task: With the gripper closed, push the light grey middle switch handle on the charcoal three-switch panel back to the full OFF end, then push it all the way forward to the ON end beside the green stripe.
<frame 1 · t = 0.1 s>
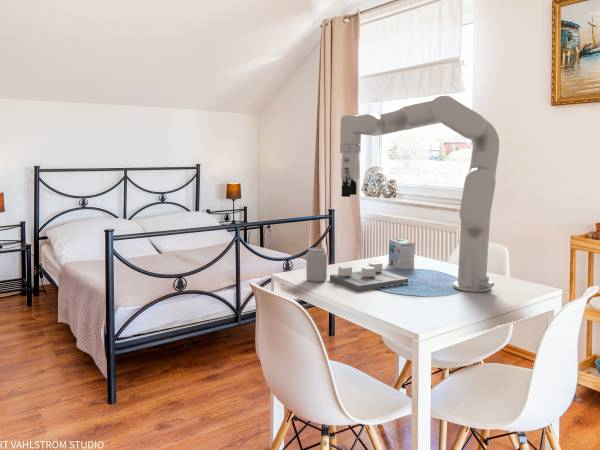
hand: (349, 195, 195), 31 cm above the table, tool pointing down, fingers open, 9 cm apart
can: (316, 281, 193), on the table
light bulb box: (401, 266, 218), on the table
breaker panel: (368, 281, 191), on the table
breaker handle: (368, 271, 191), point 4 cm above the table, slide at 5.0 cm
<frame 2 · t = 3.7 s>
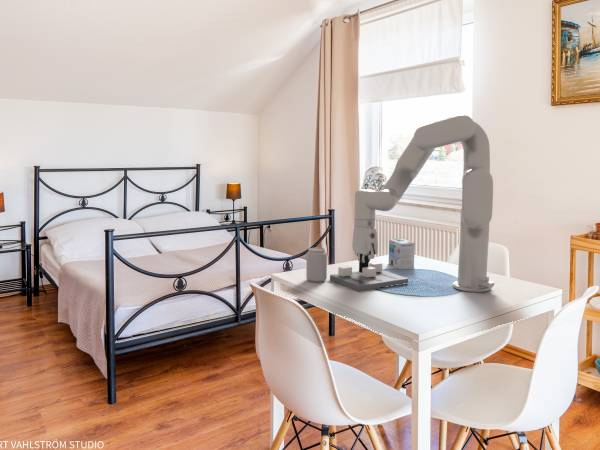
hand: (363, 272, 194), 3 cm above the table, tool pointing down, fingers closed
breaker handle: (369, 272, 191), point 4 cm above the table, slide at 4.7 cm, touching gripper
everything else where it was.
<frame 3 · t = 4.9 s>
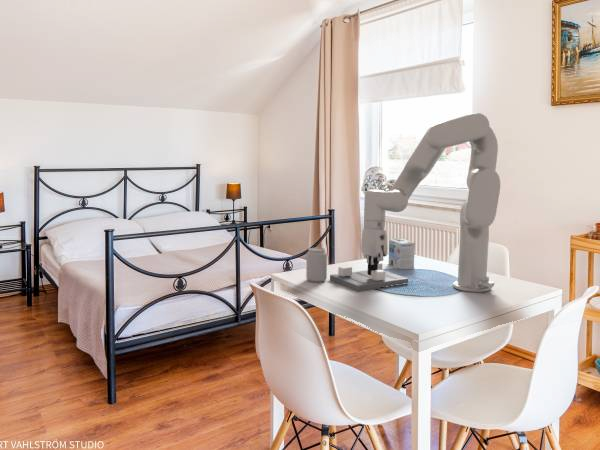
hand: (372, 274, 189), 3 cm above the table, tool pointing down, fingers closed
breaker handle: (378, 275, 186), point 4 cm above the table, slide at -0.7 cm, touching gripper
everything else where it was.
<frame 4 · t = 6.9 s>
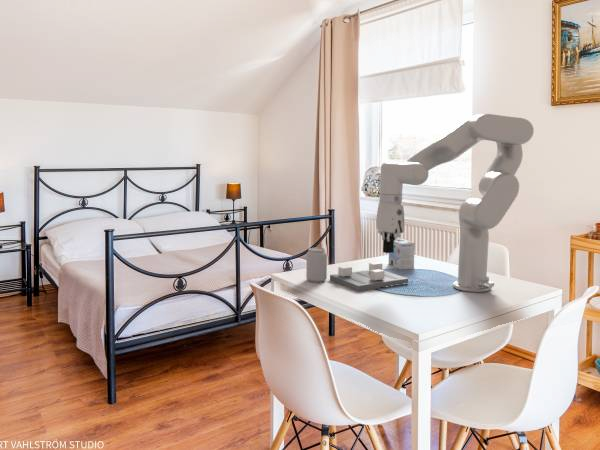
hand: (388, 252, 180), 13 cm above the table, tool pointing down, fingers closed
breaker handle: (377, 274, 186), point 4 cm above the table, slide at -0.1 cm
everything else where it was.
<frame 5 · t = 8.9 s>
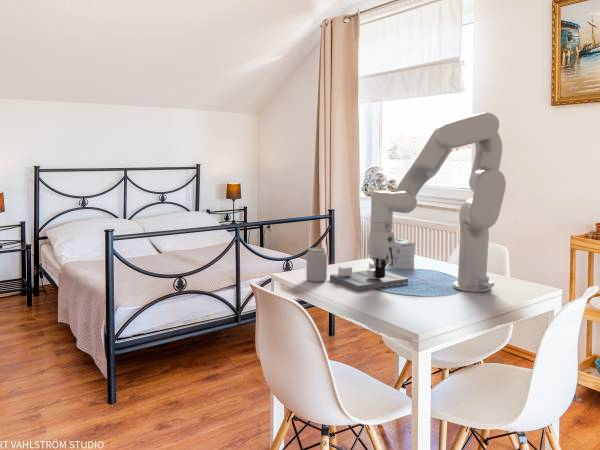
hand: (379, 277, 185), 3 cm above the table, tool pointing down, fingers closed
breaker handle: (374, 273, 188), point 4 cm above the table, slide at 1.7 cm, touching gripper
everything else where it was.
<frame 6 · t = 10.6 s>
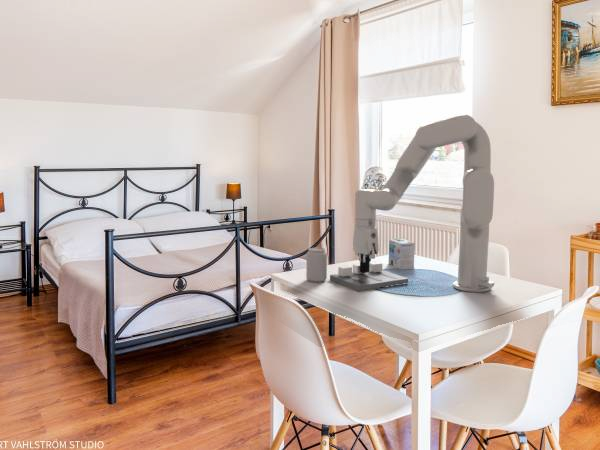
hand: (364, 272, 193), 3 cm above the table, tool pointing down, fingers closed
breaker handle: (359, 268, 196), point 4 cm above the table, slide at 10.8 cm, touching gripper
everything else where it was.
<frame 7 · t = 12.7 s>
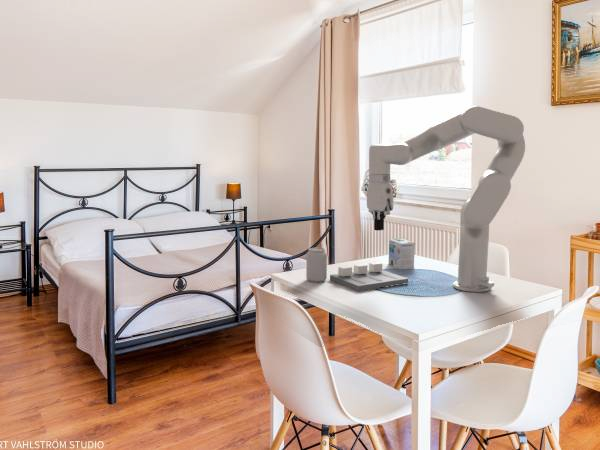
hand: (378, 229, 189), 19 cm above the table, tool pointing down, fingers closed
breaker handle: (360, 269, 195), point 4 cm above the table, slide at 10.1 cm
everything else where it was.
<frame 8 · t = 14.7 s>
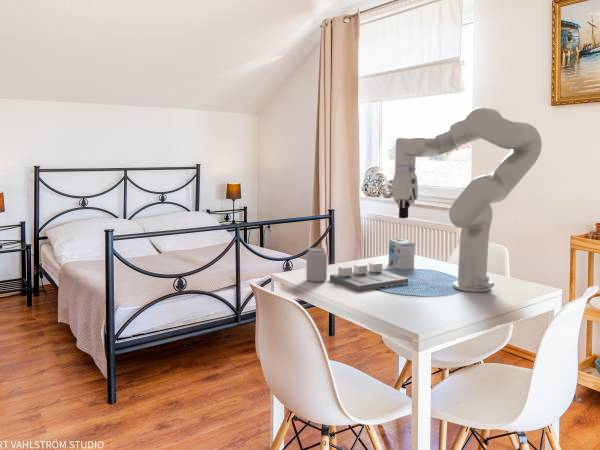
hand: (403, 217, 201), 22 cm above the table, tool pointing down, fingers closed
nothing on the table moved.
at the end: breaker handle slide at 10.1 cm; can moved 0.2 cm from its start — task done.
